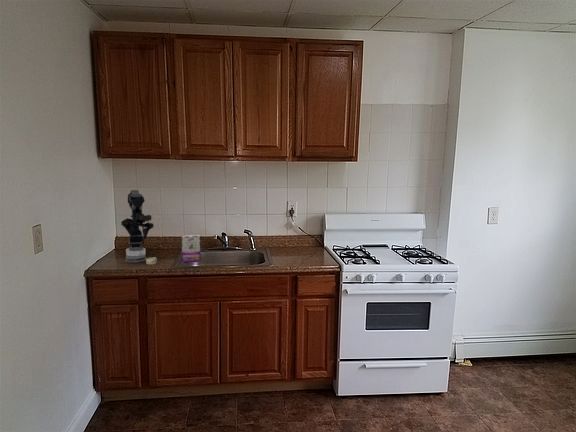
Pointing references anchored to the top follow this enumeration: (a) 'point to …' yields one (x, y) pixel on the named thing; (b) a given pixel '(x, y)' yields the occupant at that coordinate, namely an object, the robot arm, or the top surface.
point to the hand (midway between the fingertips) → (138, 237)
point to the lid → (151, 260)
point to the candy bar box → (191, 248)
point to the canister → (135, 254)
